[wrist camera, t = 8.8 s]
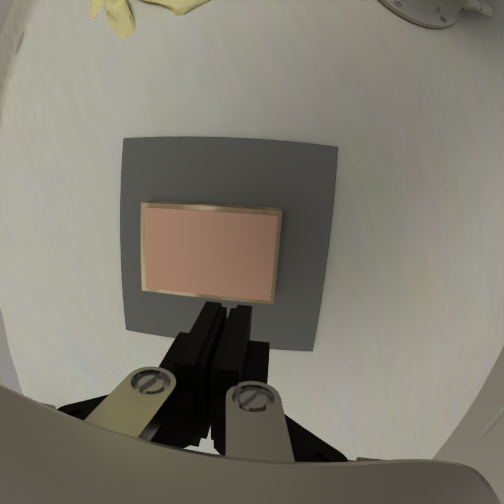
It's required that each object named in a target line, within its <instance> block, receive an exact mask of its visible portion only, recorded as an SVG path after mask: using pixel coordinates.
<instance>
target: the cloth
mask: <svg viewBox="0 0 504 504" xmlns="http://www.w3.org/2000/svg"><path fill="white" fill-rule="evenodd" d="M143 1H147V2H152V3H157V4H162V5H164V6H166V7H168V8H170V9H171V11H172V12H173V14H174V15H176V16H182V15H184V14H186V13H187V12H189V11H191V10H193V9H195V8H197V7H198V6H200V5H202V4H204V3H206V2H208V1H209V0H143ZM103 3H104V8H105V12H106V16H107V18H108V20H109V24H110V28H111V29H112V30H113V31H114V32H116V33H117V34H118V35H119V36H120V37H121V38H122V39H124V38H126V37H128V36H130V35H132V34H133V33H134V31H135V19H134V17H133V16H132V14H131V13H130V10H129V7H128V3H127V1H126V0H92V2H91V8H90V12H89V14H90V15H91V16H92V18H93V19H94V18H95V17H96V15H97V13H98V12H99V10H100V9H101V7H102V5H103Z"/></svg>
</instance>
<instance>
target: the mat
mask: <svg viewBox="0 0 504 504" xmlns="http://www.w3.org/2000/svg"><path fill="white" fill-rule="evenodd" d="M337 153H338V147H334V146H326V145H318V144H309V143H299V142H289V141H277V140H264V139H248V138H226V137H143V138H124V140H123V153H122V170H121V197H120V244H121V271H122V288H123V302H124V313H125V324H126V330H130V331H135V332H141V333H147V334H153V335H159V336H165V337H172V338H176V337H177V335H178V333H179V332H186V333H189V332H190V330H191V328H192V327H193V325H194V323H195V321H196V319H197V317H198V315H199V314H200V312H201V310H202V308H203V306H204V304H205V303H206V301H210V302H219V303H222V307H227V318H228V315H229V312H230V309H231V308H236V307H237V304H238V305H248V306H252V319H251V332H250V340H252V341H263V342H270V348H269V349H279V350H294V351H313V346H314V340H315V335H316V329H317V323H318V317H319V311H320V305H321V298H322V292H323V285H324V278H325V271H326V263H327V256H328V248H329V239H330V231H331V222H332V212H333V202H334V191H335V180H336V167H337ZM146 201H175V202H195V203H212V204H228V205H242V206H256V207H269V208H281V209H282V219H281V231H280V242H279V253H278V264H277V274H276V284H275V294H274V304H262V303H251V302H240V301H230V300H220V299H210V298H201V297H192V296H183V295H175V294H167V293H159V292H151V291H143V290H142V279H141V202H146Z"/></svg>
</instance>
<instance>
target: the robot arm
mask: <svg viewBox="0 0 504 504" xmlns="http://www.w3.org/2000/svg"><path fill="white" fill-rule="evenodd" d="M380 1H381V2H382V3H383V4H384V5H385V6H387V7H388V8H389V9H390V10H392V11H393V12H395V13H396V14H398V15H399V16H401V17H403V18H405V19H407V20H408V21H410V22H413V23H415V24H418V25H420V26H424V27H428V28H436V29H440V28H446V27H449V26H451V25H453V24H454V23H455V22H457V20H458V19H459V18H460V16H461V13H462V8H463V9H465V10H470V9H471V10H474V11H475V12H476V13H478V14H480V15H482V16H484V17H485V18H487V19H490V18H491V17H492V16H493V9H492V7H491V6H489V5H487V4H485V3H484V2H482V1H480V0H380ZM251 319H252V306H248V305H238V304H237V307H236V308H231V309H230V312H229V315H228V318H227V307H222V303H219V302H210V301H206V303H205V304H204V306H203V308H202V310H201V312H200V314H199V315H198V317H197V319H196V321H195V323H194V325H193V327H192V328H191V330H190V332H189V333H186V332H179V333H178V335H177V337H176V338H175V340H174V342H173V343H172V345H171V347H170V348H169V350H168V352H167V354H166V355H165V357H164V359H163V360H162V362H161V364H160V365H159V367H143V368H139V369H137V370H134V371H133V372H132V373H130V374H129V375H128V376H127V377H126V378H125V379H124V380H123V381H122V382H121V383H120V384H119V385H118V386H117V387H116V388H115V389H114V390H113V391H112V392H111V393H110V394H109V395H105V396H101V397H97V398H93V399H89V400H85V401H81V402H77V403H73V404H69V405H65V406H62V407H60V408H58V409H56V407H55V406H53V405H48V404H43V403H39V402H37V401H35V400H33V399H31V398H28V397H26V396H24V395H22V394H20V393H18V392H16V391H13V390H11V389H9V388H7V387H5V386H3V385H1V384H0V504H501V502H500V500H499V498H498V497H497V495H496V493H495V492H494V490H493V489H492V487H491V486H490V484H489V483H488V481H487V480H486V479H485V478H484V477H483V476H482V475H481V474H480V473H479V472H478V471H477V470H475V469H473V468H471V467H469V466H466V465H463V464H460V463H455V462H448V461H441V460H427V459H395V460H380V459H369V458H360V457H357V459H356V461H354V460H347V458H346V457H345V456H344V455H343V454H342V453H341V452H339V451H338V450H336V449H335V448H333V447H332V446H330V445H329V444H327V443H326V442H324V441H323V440H321V439H320V438H318V437H317V436H315V435H314V434H312V433H311V432H309V431H308V430H306V429H305V428H303V427H302V426H301V425H299V424H298V423H296V422H295V421H293V420H292V419H291V418H289V417H288V416H286V415H285V414H284V410H283V406H282V401H281V397H280V395H279V393H278V391H277V390H276V389H274V388H273V387H272V386H270V385H268V384H267V379H268V364H269V348H270V342H263V341H252V340H250V332H251ZM210 425H211V440H214V448H215V449H216V450H217V451H218V452H219V454H220V455H217V454H210V453H204V452H198V451H193V450H188V449H183V448H185V447H188V446H190V445H192V446H197V447H199V443H200V440H201V438H204V439H207V436H208V433H209V429H210Z"/></svg>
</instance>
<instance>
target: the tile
mask: <svg viewBox="0 0 504 504" xmlns="http://www.w3.org/2000/svg"><path fill="white" fill-rule="evenodd" d="M281 219H282V209H281V208H269V207H256V206H242V205H228V204H212V203H195V202H175V201H146V202H141V279H142V290H143V291H151V292H159V293H167V294H175V295H183V296H192V297H201V298H210V299H220V300H230V301H240V302H251V303H262V304H274V294H275V284H276V274H277V264H278V253H279V242H280V231H281Z"/></svg>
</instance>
